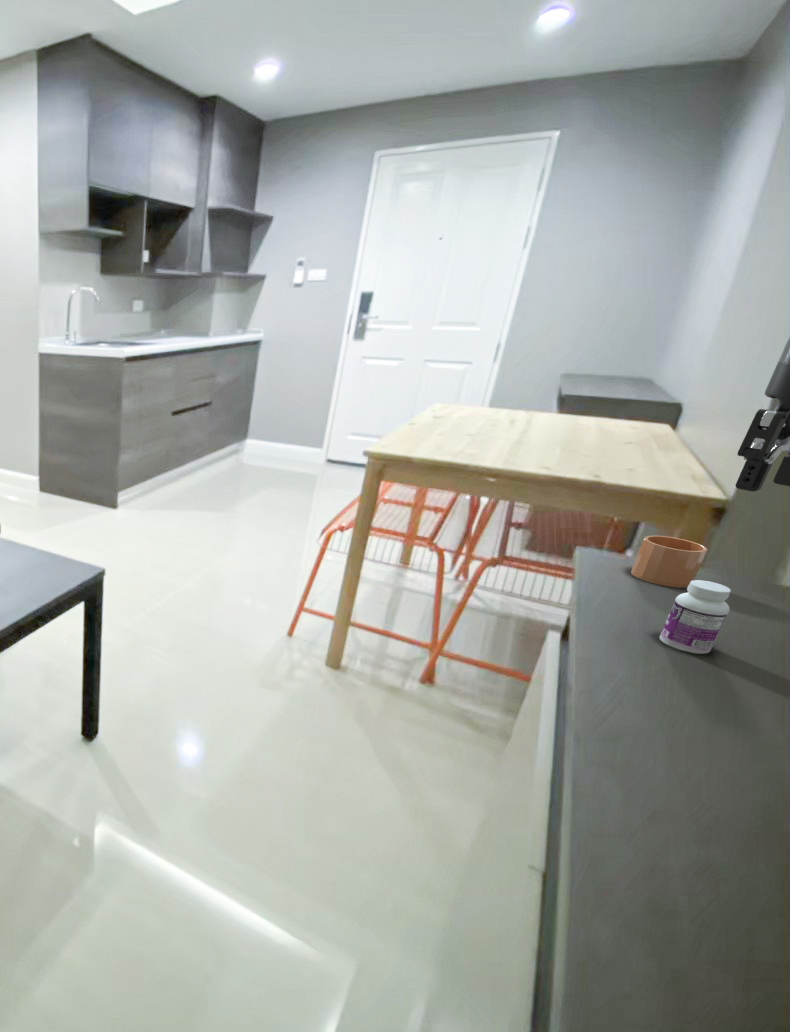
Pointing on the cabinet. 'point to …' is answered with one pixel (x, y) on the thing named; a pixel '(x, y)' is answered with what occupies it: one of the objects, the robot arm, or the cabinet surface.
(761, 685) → the cabinet surface
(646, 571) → the holder
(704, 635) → the pill bottle
